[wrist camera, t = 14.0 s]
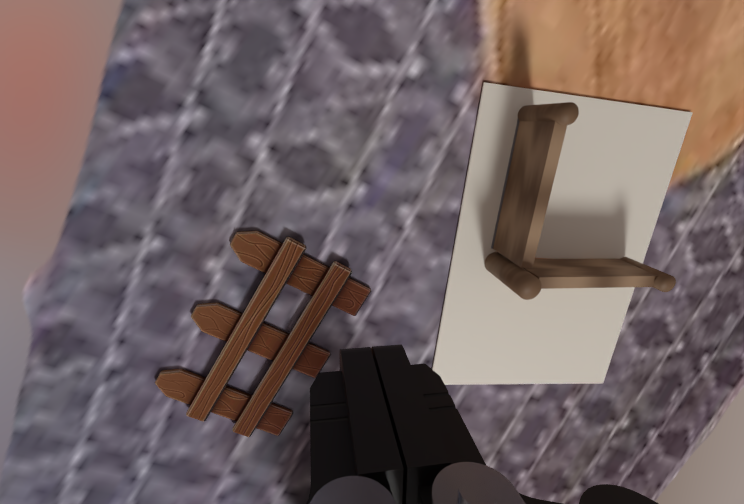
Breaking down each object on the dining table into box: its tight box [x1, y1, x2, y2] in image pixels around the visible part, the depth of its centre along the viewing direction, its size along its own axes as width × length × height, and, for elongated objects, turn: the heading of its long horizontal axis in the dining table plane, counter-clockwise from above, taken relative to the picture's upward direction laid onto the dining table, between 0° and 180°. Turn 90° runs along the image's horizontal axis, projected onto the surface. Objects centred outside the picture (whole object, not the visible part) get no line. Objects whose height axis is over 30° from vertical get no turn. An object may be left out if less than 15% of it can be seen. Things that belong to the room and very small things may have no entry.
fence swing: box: [524, 257, 676, 292], centre depth 42 cm, size 15×2×6 cm, turn 87°
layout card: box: [432, 82, 692, 385], centre depth 45 cm, size 34×24×1 cm
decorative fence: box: [155, 231, 371, 437], centre depth 42 cm, size 23×2×15 cm
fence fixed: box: [484, 102, 579, 300], centre depth 38 cm, size 18×2×8 cm, turn 174°
